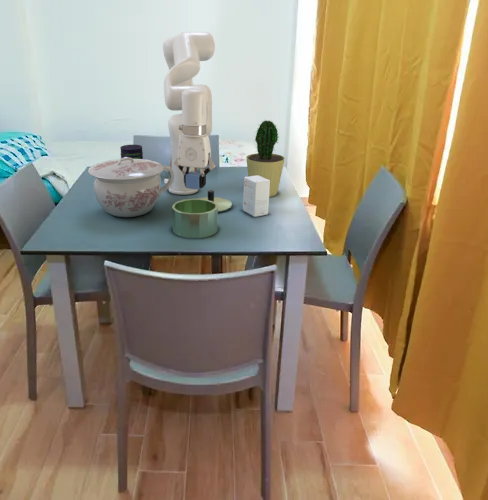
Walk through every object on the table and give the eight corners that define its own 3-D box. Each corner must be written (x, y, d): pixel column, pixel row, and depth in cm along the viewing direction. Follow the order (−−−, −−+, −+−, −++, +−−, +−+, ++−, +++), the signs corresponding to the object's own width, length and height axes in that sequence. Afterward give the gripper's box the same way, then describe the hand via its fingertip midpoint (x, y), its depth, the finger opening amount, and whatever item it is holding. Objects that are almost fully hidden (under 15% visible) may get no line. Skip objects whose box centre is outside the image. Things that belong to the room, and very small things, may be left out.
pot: (165, 234, 164) (164, 210, 160) (184, 219, 176) (183, 196, 173) (207, 241, 158) (207, 216, 154) (223, 225, 171) (224, 202, 167)
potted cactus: (237, 193, 202) (239, 119, 190) (257, 184, 213) (261, 114, 200) (269, 201, 193) (274, 124, 181) (289, 191, 204) (294, 118, 191)
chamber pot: (77, 219, 177) (71, 163, 169) (115, 196, 201) (111, 146, 192) (147, 229, 168) (144, 170, 159) (178, 204, 191) (176, 151, 182)
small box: (268, 214, 180) (270, 180, 174) (254, 217, 177) (255, 182, 172) (256, 207, 186) (258, 174, 181) (242, 210, 184) (243, 176, 178)
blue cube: (185, 188, 160) (185, 174, 158) (191, 184, 163) (191, 171, 162) (198, 189, 158) (198, 176, 156) (203, 185, 162) (203, 172, 160)
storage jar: (127, 184, 216) (125, 150, 210) (119, 178, 224) (116, 146, 218) (147, 180, 221) (146, 147, 214) (138, 175, 228) (137, 143, 222)
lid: (182, 210, 185) (182, 195, 182) (199, 197, 198) (199, 183, 196) (223, 216, 179) (223, 200, 176) (237, 202, 192) (238, 187, 189)
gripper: (165, 130, 153) (166, 186, 161) (215, 134, 147) (214, 192, 154) (175, 126, 159) (176, 180, 167) (223, 129, 153) (223, 186, 161)
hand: (194, 185), depth 161 cm, fingers closed on blue cube, 4 cm apart
